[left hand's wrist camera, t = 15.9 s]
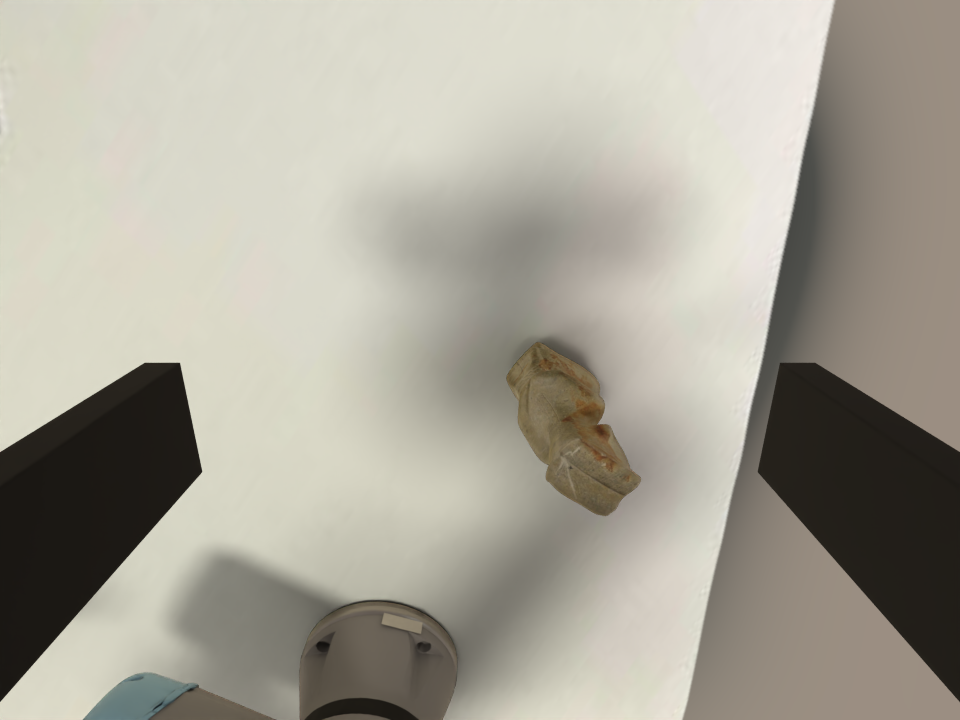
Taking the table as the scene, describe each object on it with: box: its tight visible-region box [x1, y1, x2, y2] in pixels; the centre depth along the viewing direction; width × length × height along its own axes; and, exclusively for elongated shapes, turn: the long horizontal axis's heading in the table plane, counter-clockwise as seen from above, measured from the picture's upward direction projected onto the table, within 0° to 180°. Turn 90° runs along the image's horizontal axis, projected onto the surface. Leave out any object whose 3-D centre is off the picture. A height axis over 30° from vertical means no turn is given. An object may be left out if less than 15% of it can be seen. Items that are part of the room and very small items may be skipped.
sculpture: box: [506, 342, 641, 516], centre depth 37 cm, size 6×7×15 cm
